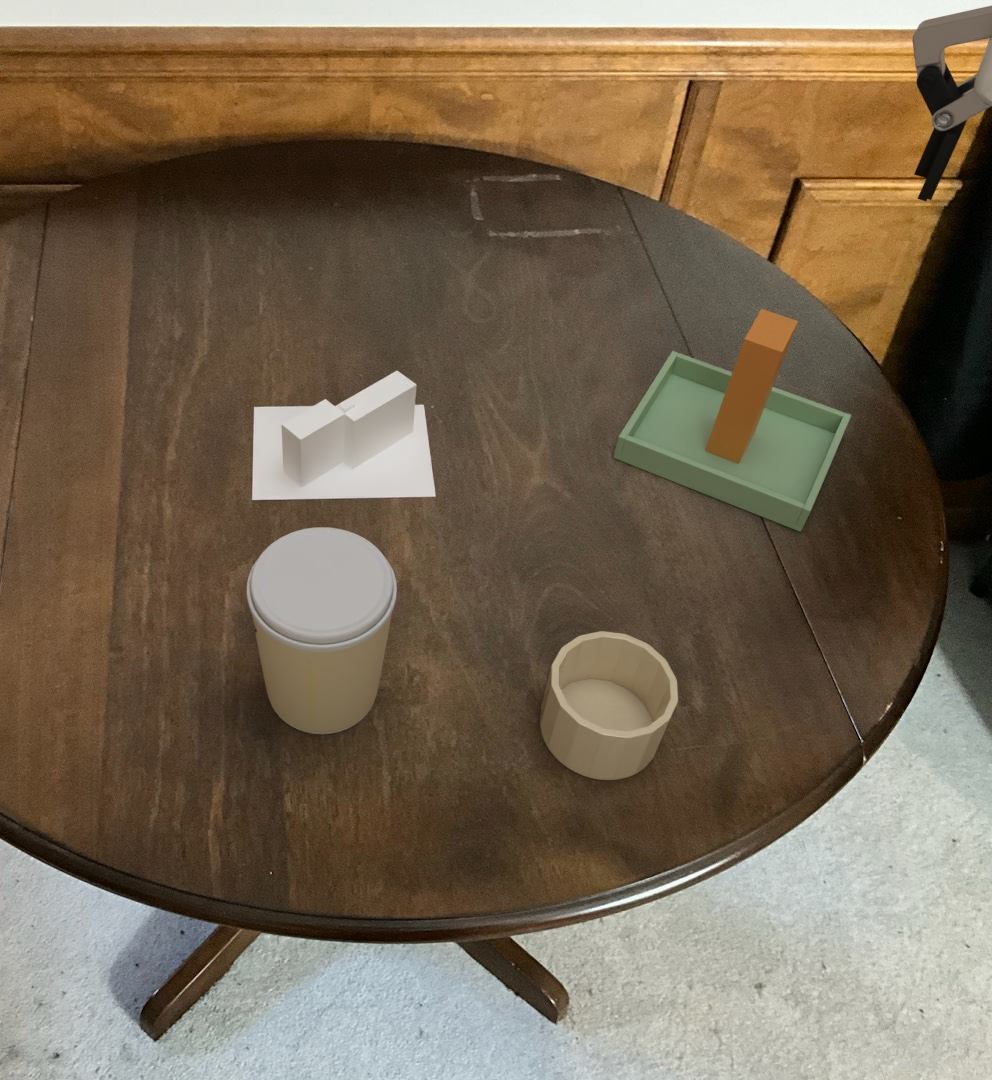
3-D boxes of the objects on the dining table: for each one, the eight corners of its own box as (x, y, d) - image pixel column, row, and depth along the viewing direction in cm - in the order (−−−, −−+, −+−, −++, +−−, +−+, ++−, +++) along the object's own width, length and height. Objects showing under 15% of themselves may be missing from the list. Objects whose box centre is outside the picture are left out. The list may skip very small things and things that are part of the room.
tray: (841, 436, 97) (851, 414, 95) (800, 532, 89) (810, 511, 87) (666, 371, 102) (672, 350, 100) (612, 457, 94) (618, 436, 92)
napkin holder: (423, 403, 98) (428, 351, 94) (437, 496, 90) (443, 445, 86) (252, 406, 97) (248, 355, 92) (252, 501, 89) (248, 450, 85)
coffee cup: (311, 613, 82) (309, 501, 73) (415, 677, 79) (426, 568, 70) (227, 698, 77) (214, 589, 68) (335, 770, 73) (336, 666, 64)
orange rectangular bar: (754, 432, 96) (798, 320, 87) (738, 464, 94) (782, 352, 85) (721, 420, 97) (761, 308, 88) (704, 451, 94) (744, 338, 85)
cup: (675, 709, 78) (695, 664, 74) (633, 801, 73) (651, 758, 69) (567, 660, 80) (580, 613, 76) (520, 745, 75) (531, 700, 71)
